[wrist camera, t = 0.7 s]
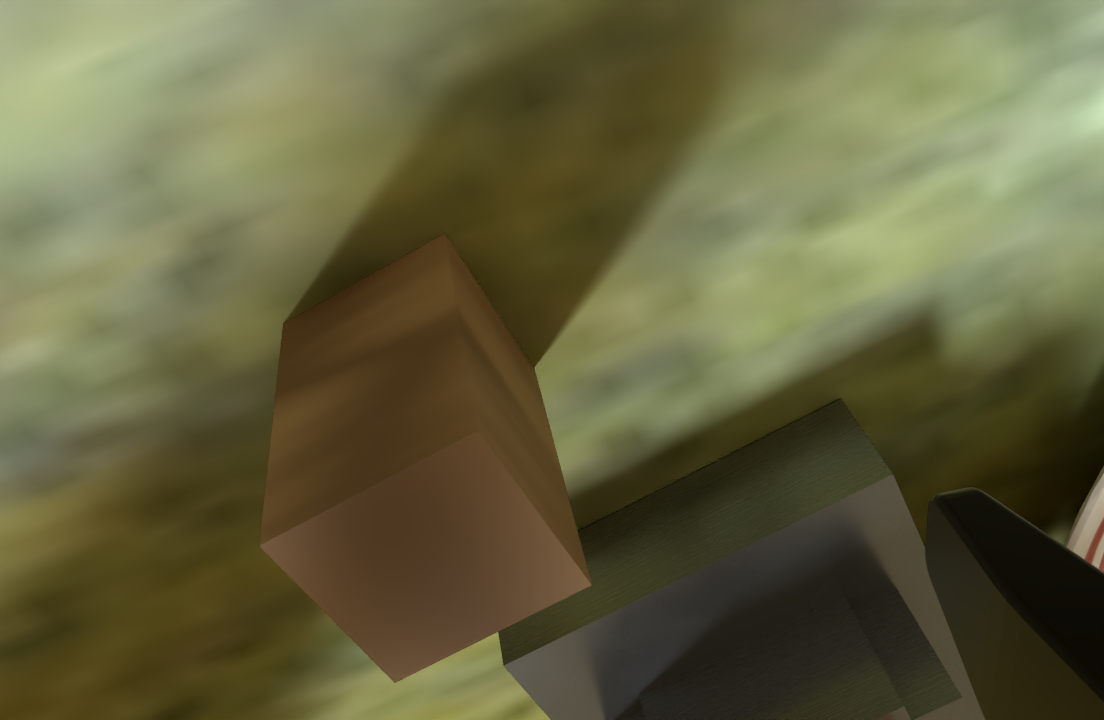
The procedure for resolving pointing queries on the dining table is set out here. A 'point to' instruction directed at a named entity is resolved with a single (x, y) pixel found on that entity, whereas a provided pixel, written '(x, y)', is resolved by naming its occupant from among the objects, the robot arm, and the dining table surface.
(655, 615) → the box
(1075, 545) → the dinner plate
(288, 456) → the brown wooden block
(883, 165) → the dining table surface
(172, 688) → the dining table surface
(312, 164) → the dining table surface
